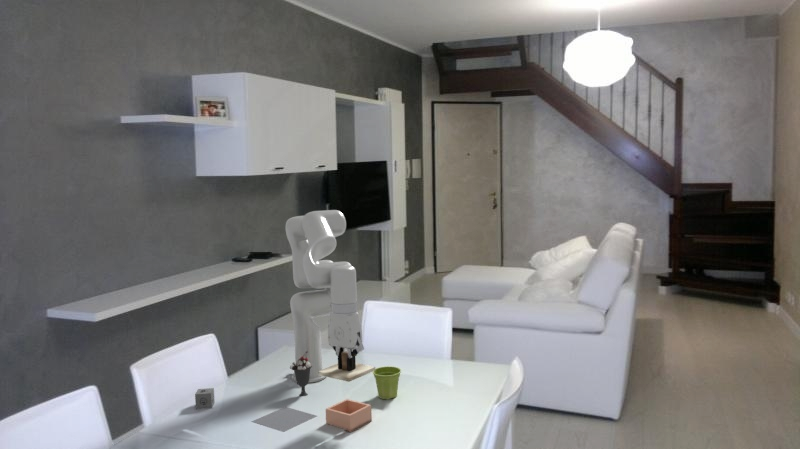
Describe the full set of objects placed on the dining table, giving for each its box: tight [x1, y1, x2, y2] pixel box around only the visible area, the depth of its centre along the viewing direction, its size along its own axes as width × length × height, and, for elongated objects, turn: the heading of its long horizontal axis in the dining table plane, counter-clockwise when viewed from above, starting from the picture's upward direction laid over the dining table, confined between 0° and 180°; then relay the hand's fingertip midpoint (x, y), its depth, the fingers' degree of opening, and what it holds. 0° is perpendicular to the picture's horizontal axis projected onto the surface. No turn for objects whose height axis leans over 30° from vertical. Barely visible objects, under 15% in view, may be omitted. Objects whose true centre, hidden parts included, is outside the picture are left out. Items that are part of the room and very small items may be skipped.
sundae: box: [291, 352, 312, 397], centre depth 218 cm, size 7×7×15 cm
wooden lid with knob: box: [318, 350, 376, 383], centre depth 193 cm, size 12×12×6 cm
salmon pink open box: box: [325, 398, 373, 433], centre depth 194 cm, size 10×10×5 cm
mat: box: [251, 406, 318, 433], centre depth 198 cm, size 14×14×1 cm
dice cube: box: [194, 387, 215, 410], centre depth 212 cm, size 5×5×5 cm
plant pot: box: [372, 365, 402, 400], centre depth 216 cm, size 9×9×9 cm
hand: (346, 368), depth 193 cm, fingers closed on wooden lid with knob, 2 cm apart
